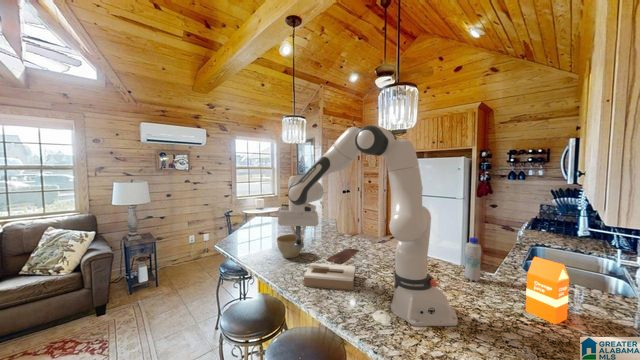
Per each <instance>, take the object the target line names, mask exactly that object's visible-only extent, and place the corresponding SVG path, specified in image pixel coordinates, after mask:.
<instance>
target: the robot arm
mask: <svg viewBox="0 0 640 360" xmlns="http://www.w3.org/2000/svg"><path fill="white" fill-rule="evenodd" d="M415 149H416V148H415V146H414V145H413V142H412V141H411V140H409V139H406V138H397V136H396V134H395V133H394V132H393V131H391V130H390V129H387V128H385V127H383V126H377V125H371V124H370V125H366V126H362V127H361V128H360V127H356V126H351V127H348V128H347V129H346V130H345V131H343V132H342V134H340V135H339V137H338V138H337V139H336V140H335V142H333V144H332V145H331V146H330V147H329V149H328V150H327V151H326V152H325V153H324V154H323V155H322V156H321V157H320V158H318V160H316V161H315V162H314V163H313V164H312V165H311V167H310V168H309V169H308V170H306V172H305V173H304V174H303V173H299V174H294V175H291V176H289V179H288V185H287V186H288V187H287V188H288V189H287V197H288V206H280V207H279V208H278V209H277V213H278V218H277V224H278V225H279V226H283V227H284V226H289V227H290V229H291V230H292V231H291V232H292V234H293V235H296V228H295V227H296V226H301V228H302V229H301V231H300V235H301V236H304V234H305V230H306V228H307V227H315V228H316V227H317V226H318V225H319V214H318V212H317V210H316V209H317V206H316V205H314V204H311V203H312V202H316V201H320V200H321V199H322V197H323V195H324V188H323V185H322V184H321V182H319V181H320V180H321V179H322V178H323V177H325V176H327V175H329V174H332V173H335V172H339V171H342V170H345V169H346V168H347V167H348V166H350V165H351V164H352V163H353V162H354V161H355V159H356V158H357V157H358V156H359V154H361V153H363V154H364V155H368V156H375V157H380V156H382V157H383V158H384V160H385V163H386V168H387V175H388V181H389V182H388V183H389V186H390V187H389V188H390V221H389V225H388V226H389V231H390V233H391V235H392V236H393V238H395V239H396V240H397V244H396V248H395V260H394V261H395V266H394V267H395V270H394V273H393V286H394V289H393V298H392V301H391V304H390V310H391V312H392V313H393V314H395V316H397V317H399V318H400V319H402V320H404V321H406V322H408V324H410V325H411V326H414V327H438V326H439V327H443V326H444V327H449V326H450V327H451V326H452V327H455V326H457V325H458V315H457V312H456V311H455V309H454V308H453V306H451V305H450V302H449V299H448V297H447V295H446V294H445V293H444V292H443V291H442V290H441V289H439V288H438V287H437V285H438V284H437V281H436V280H435V279H434V278H433V276H432V275H431V273H428V254H429V253H428V252H429V247H430V246H429V245H430V238H431V237H430V236H431V227H432V225H431V223H432V217H431V212H430V210H429V209H428V208H427V207H426V206H424V205H423V183H422V177H421V176H422V175H421V170H420V165H419V159H418V155H417V152H416V150H415Z"/></svg>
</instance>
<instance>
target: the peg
mask: <svg viewBox="0 0 640 360" xmlns="http://www.w3.org/2000/svg"><path fill="white" fill-rule="evenodd" d="M301 228H302V226H295V230H296V243H294V248H303V249H304V247H305V243H304V241H303V242H301V236H302V235H300V231H302V229H301Z"/></svg>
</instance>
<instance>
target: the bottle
mask: <svg viewBox="0 0 640 360" xmlns="http://www.w3.org/2000/svg"><path fill="white" fill-rule="evenodd" d="M464 254H465V264H464V265H465V267H464V276H465V277H464V278H465V279H466V280H469V281H470V282H473V281H474V282H475V283H477V282H480V280H481V259H482V258H481V257H482V246H481V244H479V240H478V238H477V237H469V242H466V243H465V248H464Z"/></svg>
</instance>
